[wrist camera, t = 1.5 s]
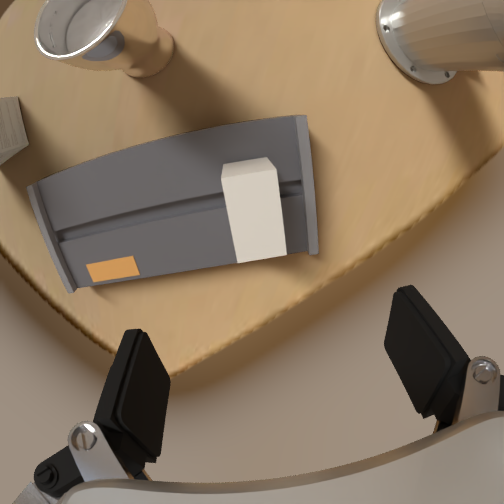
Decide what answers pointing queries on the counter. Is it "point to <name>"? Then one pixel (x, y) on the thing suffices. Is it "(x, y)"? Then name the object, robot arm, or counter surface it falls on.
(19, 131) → the supplement box
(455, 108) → the counter surface
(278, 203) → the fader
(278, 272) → the counter surface
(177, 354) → the counter surface
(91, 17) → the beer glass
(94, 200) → the fader board
